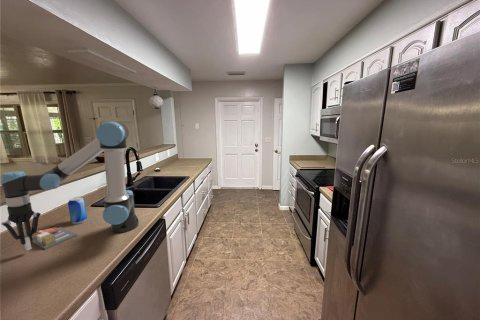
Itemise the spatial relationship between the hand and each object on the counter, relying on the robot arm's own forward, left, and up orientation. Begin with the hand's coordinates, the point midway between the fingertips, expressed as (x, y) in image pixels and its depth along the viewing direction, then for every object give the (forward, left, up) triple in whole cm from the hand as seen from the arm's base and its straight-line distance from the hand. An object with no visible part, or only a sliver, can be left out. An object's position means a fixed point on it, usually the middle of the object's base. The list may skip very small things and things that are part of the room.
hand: (28, 248), depth 98 cm
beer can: (+15, -29, -3) cm, 32 cm away
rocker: (+11, -12, +1) cm, 16 cm away
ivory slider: (+5, -8, -1) cm, 9 cm away
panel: (+6, -12, -2) cm, 13 cm away
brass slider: (0, -8, -1) cm, 8 cm away
